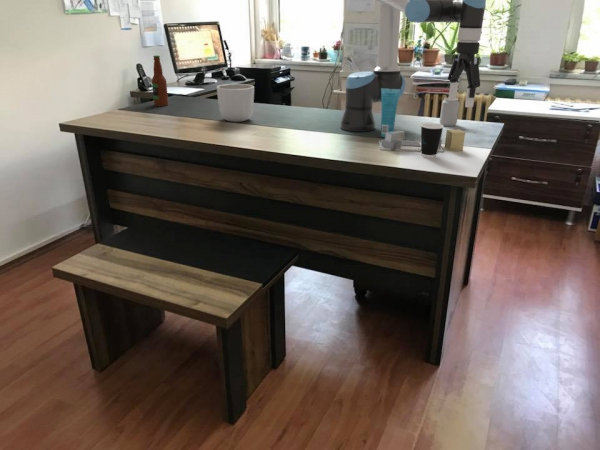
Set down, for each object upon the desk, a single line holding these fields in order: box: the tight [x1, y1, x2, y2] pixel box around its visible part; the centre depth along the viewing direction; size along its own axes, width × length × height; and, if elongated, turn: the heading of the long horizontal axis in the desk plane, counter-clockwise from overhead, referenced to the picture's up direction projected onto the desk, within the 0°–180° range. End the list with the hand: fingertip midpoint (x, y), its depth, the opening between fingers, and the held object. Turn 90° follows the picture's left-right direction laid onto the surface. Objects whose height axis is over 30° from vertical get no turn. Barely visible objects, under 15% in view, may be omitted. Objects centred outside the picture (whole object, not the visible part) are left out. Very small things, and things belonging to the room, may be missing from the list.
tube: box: [380, 88, 400, 138], centre depth 200 cm, size 7×5×19 cm, turn 83°
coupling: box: [443, 129, 466, 152], centre depth 185 cm, size 5×5×7 cm
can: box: [439, 97, 460, 127], centre depth 224 cm, size 8×8×12 cm
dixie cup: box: [420, 122, 445, 159], centre depth 175 cm, size 8×8×11 cm
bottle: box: [151, 55, 169, 107], centre depth 258 cm, size 7×7×25 cm
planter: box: [216, 83, 255, 123], centre depth 228 cm, size 17×17×15 cm
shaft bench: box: [378, 129, 444, 153], centre depth 188 cm, size 23×14×6 cm, turn 84°
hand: (460, 103), depth 180 cm, fingers open, 13 cm apart
